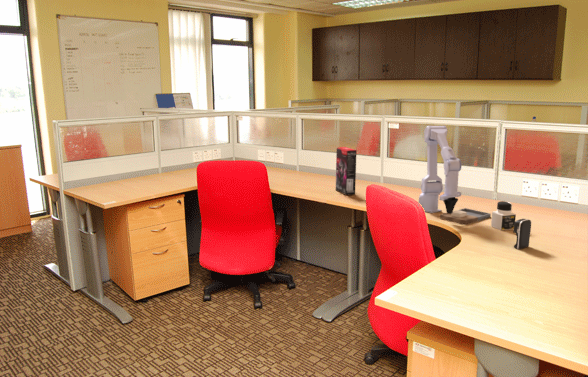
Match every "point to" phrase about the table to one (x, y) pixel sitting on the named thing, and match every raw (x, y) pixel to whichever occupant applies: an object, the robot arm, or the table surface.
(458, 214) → the tile
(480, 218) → the tray
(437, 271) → the table surface
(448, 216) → the board
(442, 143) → the robot arm
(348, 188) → the graphics card box
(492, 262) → the table surface
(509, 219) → the medicine bottle
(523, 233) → the battery charger
